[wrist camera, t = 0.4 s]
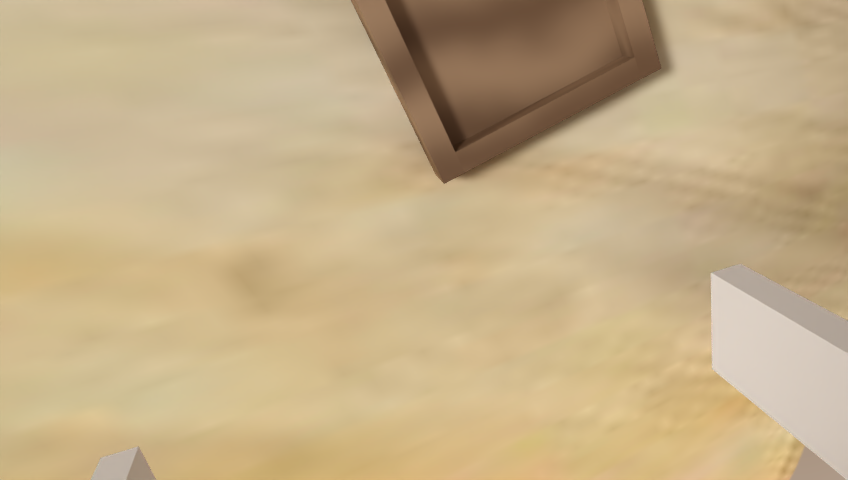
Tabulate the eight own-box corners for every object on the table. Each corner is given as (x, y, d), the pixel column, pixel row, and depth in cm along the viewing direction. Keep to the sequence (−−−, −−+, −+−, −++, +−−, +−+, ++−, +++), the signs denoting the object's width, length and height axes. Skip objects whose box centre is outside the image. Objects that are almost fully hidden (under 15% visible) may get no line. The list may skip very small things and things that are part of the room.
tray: (319, -66, 32) (320, -73, 30) (563, -193, 33) (583, -210, 30) (435, 174, 39) (444, 183, 36) (640, 66, 39) (661, 68, 37)
